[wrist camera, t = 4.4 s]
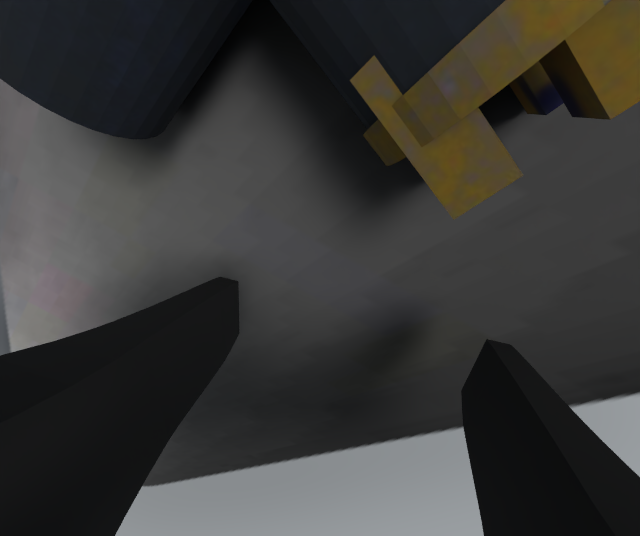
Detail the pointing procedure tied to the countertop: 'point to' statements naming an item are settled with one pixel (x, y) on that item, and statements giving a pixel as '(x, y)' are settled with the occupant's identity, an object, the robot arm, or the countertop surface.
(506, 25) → the pipe connector
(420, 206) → the countertop surface
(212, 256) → the countertop surface
